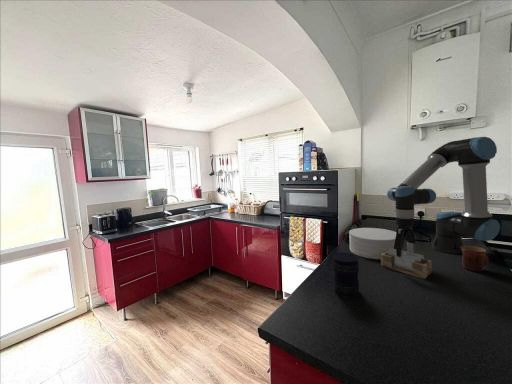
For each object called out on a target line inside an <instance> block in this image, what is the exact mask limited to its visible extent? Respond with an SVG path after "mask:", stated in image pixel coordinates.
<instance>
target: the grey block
mask: <svg viewBox="0 0 512 384" xmlns="http://www.w3.org/2000/svg"><path fill="white" fill-rule="evenodd" d="M388 256H392V258H393V267H397V268H400V269H404V270H408V271H411V272H412V262H417V263H421V264H424V259H425V256H424V254H419V253H415V252H413V253H412V252H407V250H403V264H402V263H398V262H396V249H393V248H391V249H389V250H388Z"/></svg>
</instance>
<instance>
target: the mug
mask: <svg viewBox="0 0 512 384" xmlns="http://www.w3.org/2000/svg"><path fill="white" fill-rule="evenodd" d="M461 250H462V254H461V255H462V259H461V264H462V267H463V268H464V269H466V270H468V271H471V272H477V273H481V272H483V271H484V268H485V267H487V266H488V264H489V257H488V255H486V253H487V249H485V248H483V247H479V246H476V245H475V246H473V245H465V246H461Z"/></svg>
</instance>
